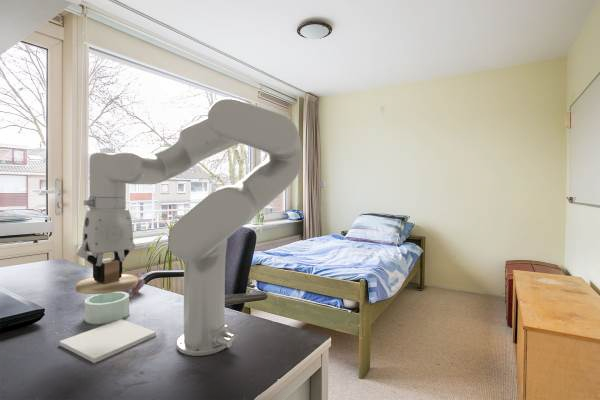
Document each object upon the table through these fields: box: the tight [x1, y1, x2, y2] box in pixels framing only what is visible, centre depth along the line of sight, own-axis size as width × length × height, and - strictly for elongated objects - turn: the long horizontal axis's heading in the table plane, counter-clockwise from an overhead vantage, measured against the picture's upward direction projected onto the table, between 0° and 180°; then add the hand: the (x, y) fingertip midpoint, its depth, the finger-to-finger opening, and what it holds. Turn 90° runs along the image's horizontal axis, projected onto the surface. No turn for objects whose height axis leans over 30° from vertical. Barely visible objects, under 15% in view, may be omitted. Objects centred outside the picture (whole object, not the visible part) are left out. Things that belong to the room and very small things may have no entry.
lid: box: [75, 258, 139, 295], centre depth 79 cm, size 13×13×6 cm
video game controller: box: [118, 277, 146, 298], centre depth 112 cm, size 10×5×7 cm, turn 169°
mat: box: [59, 319, 157, 364], centre depth 79 cm, size 15×15×1 cm
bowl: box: [83, 292, 130, 325], centre depth 93 cm, size 11×11×6 cm
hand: (108, 278), depth 79 cm, fingers closed on lid, 3 cm apart
